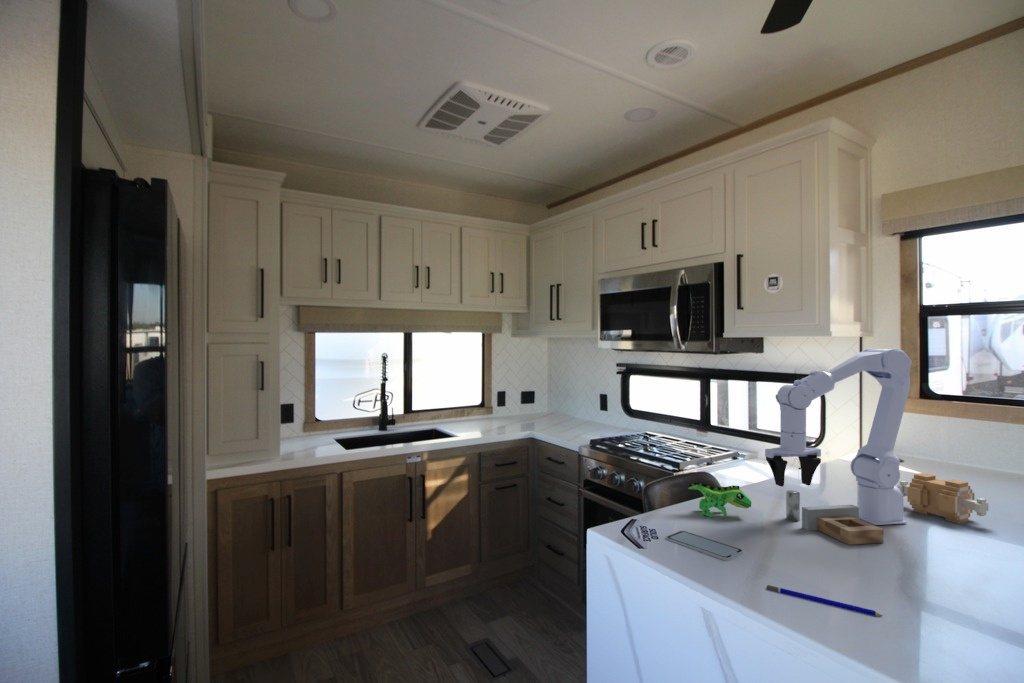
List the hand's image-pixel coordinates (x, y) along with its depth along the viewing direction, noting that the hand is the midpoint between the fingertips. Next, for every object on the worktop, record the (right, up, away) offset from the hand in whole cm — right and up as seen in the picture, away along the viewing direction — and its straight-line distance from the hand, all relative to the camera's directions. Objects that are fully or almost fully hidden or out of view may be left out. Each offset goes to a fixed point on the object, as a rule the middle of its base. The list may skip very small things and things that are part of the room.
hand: (792, 484), depth 125 cm
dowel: (0, -9, 0) cm, 9 cm away
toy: (-18, -9, +3) cm, 20 cm away
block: (+7, -9, -11) cm, 16 cm away
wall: (+6, -9, -6) cm, 12 cm away
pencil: (-19, -9, -41) cm, 46 cm away
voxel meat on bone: (+41, -10, +3) cm, 42 cm away
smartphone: (-30, -9, -17) cm, 35 cm away
